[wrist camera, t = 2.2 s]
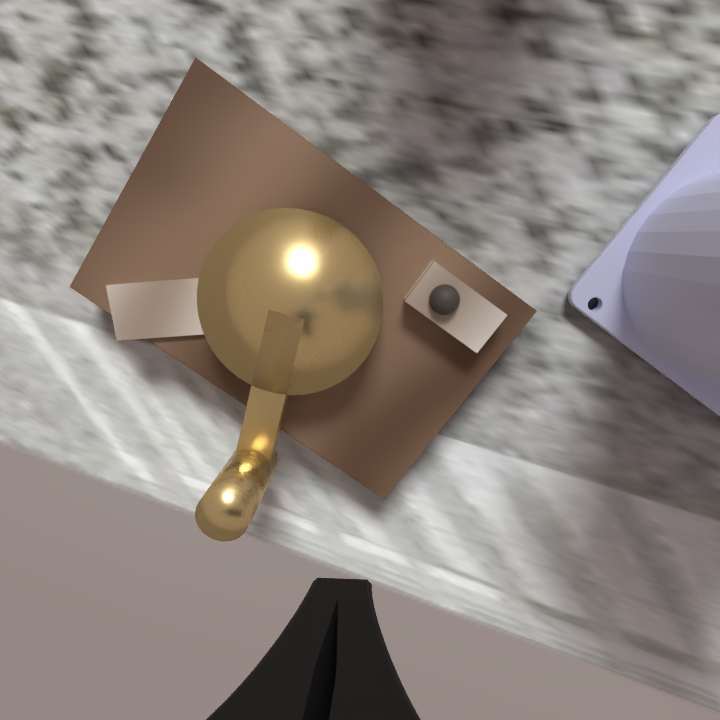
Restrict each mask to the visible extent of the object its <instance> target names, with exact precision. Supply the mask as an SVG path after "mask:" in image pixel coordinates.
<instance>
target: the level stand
mask: <svg viewBox="0 0 720 720" xmlns="http://www.w3.org/2000/svg"><path fill="white" fill-rule="evenodd" d="M276 208H295V209H303V210H307V211H312V212H315V213H319V214H322V215H324V216H327V217H330V218H332V219H334V220H336V221H338V222H339V223H341V224H342V225H344V226H345V227H347V228H348V229H350V230H351V231H352V232H353V233H354V234H355V235H356V236H357V237H358V238H359V239H360V240H361V241H362V242H363V244H364V245H365V246H366V247H367V249H368V251H369V252H370V254H371V255H372V257H373V259H374V261H375V263H376V265H377V268H378V271H379V274H380V277H381V282H382V287H383V312H382V321H381V326H380V330H379V333H378V336H377V339H376V342H375V344H374V346H373V348H372V349H371V351H370V353H369V355H368V356H367V357H366V359H365V360H364V362H363V363H362V364H361V365H360V366H359V367H358V368H357V369H356V371H354V372H353V373H352V374H351V375H350V376H348V377H347V378H346V379H344V380H343V381H341V382H340V383H338V384H336V385H334V386H332V387H330V388H328V389H325V390H322V391H319V392H316V393H310V394H305V395H289V398H288V401H287V405H286V409H285V413H284V417H283V421H282V425H281V430H283V431H284V432H286V433H287V434H289V435H290V436H292V437H293V438H295V439H296V440H298V441H299V442H301V443H302V444H304V445H305V446H307V447H308V448H310V449H311V450H312V451H314V452H315V453H317V454H318V455H320V456H321V457H323V458H324V459H326V460H327V461H329V462H330V463H332V464H333V465H335V466H336V467H338V468H339V469H341V470H342V471H344V472H345V473H347V474H348V475H350V476H351V477H353V478H354V479H355V480H357V481H358V482H360V483H361V484H363V485H364V486H366V487H367V488H369V489H370V490H372V491H373V492H375V493H376V494H378V495H379V496H381V497H382V498H384V499H385V497H386V496H387V495H388V494H389V492H390V491H391V490H392V489H393V487H394V486H395V485H396V484H397V483H398V481H399V480H400V479H401V478H402V476H403V475H404V474H405V473H406V471H407V470H408V469H409V468H410V467H411V465H412V464H413V463H414V462H415V460H416V459H417V458H418V457H419V456H420V454H421V453H422V452H423V451H424V449H425V448H426V447H427V446H428V444H429V443H430V442H431V441H432V440H433V438H434V437H435V436H436V435H437V433H438V432H439V431H440V430H441V428H442V427H443V426H444V425H445V424H446V422H447V421H448V420H449V419H450V417H451V416H452V415H453V414H454V412H455V411H456V410H457V409H458V408H459V406H460V405H461V404H462V403H463V401H464V400H465V399H466V398H467V396H468V395H469V394H470V393H471V392H472V390H473V389H474V388H475V387H476V385H477V384H478V383H479V382H480V380H481V379H482V378H483V377H484V376H485V374H486V373H487V372H488V371H489V369H490V368H491V367H492V366H493V364H494V363H495V362H496V361H497V360H498V358H499V357H500V356H501V355H502V353H503V352H504V351H505V350H506V348H507V347H508V346H509V345H510V344H511V342H512V341H513V340H514V339H515V337H516V336H517V335H518V334H519V333H520V331H521V330H522V329H523V328H524V326H525V325H526V324H527V323H528V321H529V320H530V319H531V318H532V317H533V315H534V314H535V313H536V312H537V311H536V310H535V309H533V308H532V307H531V306H529V305H528V304H527V303H525V302H524V301H523V300H521V299H520V298H518V297H517V296H516V295H514V294H513V293H512V292H510V291H509V290H508V289H506V288H505V287H504V286H502V285H501V284H500V283H498V282H497V281H496V280H494V279H493V278H492V277H490V276H489V275H488V274H486V273H485V272H483V271H482V270H481V269H479V268H478V267H477V266H475V265H474V264H473V263H471V262H470V261H469V260H467V259H466V258H465V257H463V256H462V255H461V254H459V253H458V252H457V251H455V250H454V249H453V248H451V247H450V246H448V245H447V244H446V243H444V242H443V241H442V240H440V239H439V238H438V237H436V236H435V235H434V234H432V233H431V232H430V231H428V230H427V229H426V228H424V227H423V226H422V225H420V224H419V223H418V222H416V221H415V220H413V219H412V218H411V217H409V216H408V215H407V214H405V213H404V212H403V211H401V210H400V209H399V208H397V207H396V206H395V205H393V204H392V203H391V202H389V201H388V200H387V199H385V198H384V197H383V196H381V195H380V194H378V193H377V192H376V191H374V190H373V189H372V188H370V187H369V186H368V185H366V184H365V183H364V182H362V181H361V180H360V179H358V178H357V177H356V176H354V175H353V174H352V173H350V172H349V171H348V170H346V169H345V168H343V167H342V166H341V165H339V164H338V163H337V162H335V161H334V160H333V159H331V158H330V157H329V156H327V155H326V154H325V153H323V152H322V151H321V150H319V149H318V148H317V147H315V146H314V145H313V144H311V143H310V142H308V141H307V140H306V139H304V138H303V137H302V136H300V135H299V134H298V133H296V132H295V131H294V130H292V129H291V128H290V127H288V126H287V125H286V124H284V123H283V122H282V121H280V120H279V119H278V118H276V117H275V116H273V115H272V114H271V113H269V112H268V111H267V110H265V109H264V108H263V107H261V106H260V105H259V104H257V103H256V102H255V101H253V100H252V99H251V98H249V97H248V96H247V95H245V94H244V93H243V92H241V91H240V90H239V89H237V88H236V87H234V86H233V85H232V84H230V83H229V82H228V81H226V80H225V79H224V78H222V77H221V76H220V75H218V74H217V73H216V72H214V71H213V70H212V69H210V68H209V67H208V66H206V65H205V64H204V63H202V62H201V61H199V60H198V59H197V58H195V60H194V61H193V63H192V65H191V67H190V69H189V71H188V72H187V74H186V76H185V78H184V80H183V81H182V83H181V85H180V87H179V89H178V91H177V92H176V94H175V96H174V98H173V100H172V102H171V103H170V105H169V107H168V109H167V111H166V112H165V114H164V116H163V118H162V120H161V122H160V123H159V125H158V127H157V129H156V131H155V132H154V134H153V136H152V138H151V140H150V142H149V143H148V145H147V147H146V149H145V151H144V152H143V154H142V156H141V158H140V160H139V162H138V163H137V165H136V167H135V169H134V171H133V173H132V174H131V176H130V178H129V180H128V182H127V183H126V185H125V187H124V189H123V191H122V193H121V194H120V196H119V198H118V200H117V202H116V203H115V205H114V207H113V209H112V211H111V213H110V214H109V216H108V218H107V220H106V222H105V223H104V225H103V227H102V229H101V231H100V233H99V234H98V236H97V238H96V240H95V242H94V243H93V245H92V247H91V249H90V251H89V253H88V254H87V256H86V258H85V260H84V262H83V264H82V265H81V267H80V269H79V271H78V273H77V274H76V276H75V278H74V280H73V282H72V284H71V285H70V287H71V288H72V289H74V290H75V291H77V292H78V293H80V294H81V295H83V296H84V297H86V298H87V299H89V300H90V301H92V302H93V303H95V304H96V305H98V306H99V307H100V308H102V309H103V310H105V311H106V312H108V313H109V314H111V315H112V320H113V325H114V330H115V335H116V340H117V341H119V340H133V339H148V340H149V341H151V342H152V343H154V344H155V345H157V346H158V347H160V348H161V349H163V350H164V351H166V352H167V353H169V354H170V355H172V356H173V357H175V358H176V359H178V360H179V361H181V362H182V363H184V364H185V365H186V366H188V367H189V368H191V369H192V370H194V371H195V372H197V373H198V374H200V375H201V376H203V377H204V378H206V379H207V380H209V381H210V382H212V383H213V384H215V385H216V386H218V387H219V388H221V389H222V390H224V391H225V392H226V393H228V394H229V395H231V396H232V397H234V398H235V399H237V400H238V401H240V402H241V403H243V404H244V405H246V406H247V402H248V398H249V394H250V389H251V385H250V384H248V383H246V382H245V381H243V380H242V379H240V378H239V377H237V376H236V375H235V374H233V373H232V372H231V371H230V370H229V369H227V368H226V367H225V365H224V364H223V363H222V362H221V361H220V360H219V359H218V357H217V356H216V355H215V353H214V352H213V351H212V349H211V347H210V345H209V344H208V342H207V340H206V338H205V335H204V333H203V330H202V328H201V324H200V320H199V317H198V309H197V286H198V279H199V276H200V272H201V268H202V266H203V263H204V261H205V258H206V256H207V255H208V253H209V251H210V249H211V248H212V246H213V245H214V244H215V242H216V241H217V240H218V239H219V237H220V236H221V235H222V234H223V233H224V232H225V231H226V230H227V229H229V228H230V227H231V226H233V225H234V224H235V223H237V222H238V221H240V220H242V219H244V218H246V217H248V216H249V215H252V214H255V213H258V212H261V211H265V210H270V209H276Z"/></svg>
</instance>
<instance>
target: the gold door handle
mask: <svg viewBox="0 0 720 720" xmlns="http://www.w3.org/2000/svg"><path fill="white" fill-rule="evenodd" d="M197 309H198V317H199V320H200V324H201V328H202V330H203V333H204V335H205V338H206V340H207V342H208V344H209V345H210V347H211V349H212V351H213V352H214V353H215V355H216V356H217V357H218V359H219V360H220V361H221V362H222V363H223V364H224V365H225V367H226V368H227V369H229V370H230V371H231V372H232V373H233V374H235V375H236V376H237V377H239V378H240V379H242V380H243V381H245V382H246V383H248V384H250V385H251V389H250V394H249V398H248V402H247V407H246V411H245V415H244V420H243V424H242V428H241V433H240V437H239V441H238V446H237V449H236V451H235V452H234V453H233V455H232V456H231V458H230V459H229V460H228V462H227V463H226V465H225V466H224V467H223V469H222V470H221V472H220V473H219V475H218V476H217V477H216V479H215V480H214V482H213V483H212V484H211V486H210V487H209V489H208V490H207V491H206V493H205V494H204V496H203V497H202V498H201V500H200V501H199V503H198V505H197V507H196V511H195V518H196V522H197V524H198V526H199V528H200V529H201V531H202V532H203V533H205V534H206V535H207V536H209V537H210V538H212V539H215V540H219V541H231V540H235V539H237V538H239V537H240V536H242V535H243V534H244V533H245V531H246V530H247V528H248V526H249V523H250V521H251V519H252V517H253V515H254V513H255V511H256V509H257V507H258V505H259V503H260V501H261V499H262V497H263V494H264V492H265V490H266V488H267V486H268V484H269V482H270V480H271V478H272V476H273V474H274V472H275V470H276V468H277V465H278V455H277V452H276V450H275V449H276V445H277V441H278V437H279V433H280V429H281V425H282V421H283V417H284V413H285V409H286V405H287V401H288V398H289V395H305V394H310V393H316V392H319V391H322V390H325V389H328V388H330V387H332V386H334V385H336V384H338V383H340V382H341V381H343V380H344V379H346V378H347V377H348V376H350V375H351V374H352V373H353V372H354V371H356V369H357V368H358V367H359V366H360V365H361V364H362V363H363V362H364V360H365V359H366V357H367V356H368V355H369V353H370V351H371V349H372V348H373V346H374V344H375V342H376V339H377V336H378V333H379V330H380V326H381V321H382V312H383V287H382V282H381V277H380V274H379V271H378V268H377V265H376V263H375V261H374V259H373V257H372V255H371V254H370V252H369V251H368V249H367V247H366V246H365V245H364V244H363V242H362V241H361V240H360V239H359V238H358V237H357V236H356V235H355V234H354V233H353V232H352V231H351V230H350V229H348V228H347V227H345V226H344V225H342V224H341V223H339V222H338V221H336V220H334V219H332V218H330V217H327V216H324V215H322V214H319V213H315V212H312V211H307V210H303V209H295V208H276V209H270V210H265V211H261V212H258V213H255V214H252V215H249V216H248V217H246V218H244V219H242V220H240V221H238V222H237V223H235V224H234V225H233V226H231V227H230V228H229V229H227V230H226V231H225V232H224V233H223V234H222V235H221V236H220V237H219V239H218V240H217V241H216V242H215V244H214V245H213V246H212V248H211V249H210V251H209V253H208V255H207V256H206V258H205V261H204V263H203V266H202V268H201V272H200V276H199V279H198V286H197Z"/></svg>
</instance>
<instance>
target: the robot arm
mask: <svg viewBox="0 0 720 720" xmlns="http://www.w3.org/2000/svg"><path fill="white" fill-rule="evenodd" d="M594 297H596V298H597V299H598V305H597V307H596V308H595V309H593V310H590V309H589V308H588V302H589V300H590V299H592V298H594ZM568 300H569V303H570V304H571V305H572V306H573V307H574V308H575V309H577V310H578V311H579V312H581V313H582V314H583V315H585V316H586V317H587V318H589V319H590V320H591V321H593V322H594V323H595V324H597V325H598V326H599V327H601V328H602V329H603V330H605V331H606V332H607V333H609V334H610V335H611V336H613V337H614V338H615V339H617V340H618V341H619V342H621V343H622V344H623V345H625V346H626V347H627V348H629V349H630V350H631V351H633V352H634V353H635V354H637V355H638V356H639V357H641V358H642V359H643V360H645V361H646V362H647V363H649V364H650V365H651V366H653V367H654V368H655V369H657V370H658V371H659V372H661V373H662V374H663V375H665V376H666V377H667V378H669V379H670V380H671V381H673V382H674V383H675V384H677V385H678V386H679V387H681V388H682V389H683V390H685V391H686V392H687V393H689V394H690V395H691V396H693V397H694V398H695V399H697V400H698V401H699V402H701V403H702V404H703V405H705V406H706V407H707V408H709V409H710V410H711V411H713V412H714V413H715V414H717V415H718V416H719V417H720V114H719V115H716V116H714V117H712V118H711V119H710V120H708V121H707V122H706V124H705V125H704V126H703V127H702V129H701V130H700V131H699V132H698V133H697V135H696V136H695V137H694V138H693V139H692V141H691V142H690V143H689V144H688V146H687V147H686V148H685V149H684V150H683V152H682V153H681V154H680V155H679V157H678V158H677V159H676V160H675V161H674V163H673V164H672V165H671V166H670V167H669V169H668V170H667V171H666V172H665V174H664V175H663V176H662V177H661V178H660V180H659V181H658V182H657V183H656V185H655V186H654V187H653V188H652V189H651V191H650V192H649V193H648V194H647V196H646V197H645V198H644V199H643V200H642V202H641V203H640V204H639V205H638V206H637V208H636V209H635V210H634V211H633V213H632V214H631V215H630V216H629V217H628V219H627V220H626V221H625V222H624V224H623V225H622V226H621V227H620V228H619V230H618V231H617V232H616V233H615V234H614V236H613V237H612V238H611V239H610V241H609V242H608V243H607V244H606V245H605V247H604V248H603V249H602V250H601V252H600V253H599V254H598V255H597V256H596V258H595V259H594V260H593V261H592V262H591V264H590V265H589V266H588V267H587V269H586V270H585V271H584V272H583V273H582V275H581V276H580V277H579V278H578V280H577V281H576V282H575V283H574V284H573V286H572V287H571V288H570V290H569V292H568ZM371 588H372V584H371V583H370V582H369V581H368V580H361V579H335V578H317V579H316V580H315V581H313V583H312V585H311V587H310V589H309V591H308V593H307V594H306V596H305V598H304V600H303V601H302V603H301V605H300V606H299V608H298V610H297V611H296V613H295V614H294V616H293V617H292V619H291V620H290V622H289V623H288V625H287V626H286V628H285V629H284V631H283V632H282V634H281V635H280V636H279V638H278V639H277V640H276V642H275V643H274V644H273V646H272V647H271V648H270V650H269V651H268V652H267V653H266V655H265V656H264V657H263V659H262V660H261V661H260V662H259V664H258V665H257V666H256V667H255V669H254V670H253V671H252V672H251V673H250V675H249V676H248V677H247V678H246V679H245V680H244V682H243V683H242V684H241V685H240V686H239V687H238V688H237V689H236V690H235V691H234V692H233V693H232V694H231V696H230V697H229V698H228V699H227V700H226V701H225V702H224V703H223V704H222V705H221V706H220V707H219V708H218V709H217V710H216V711H215V712H214V713H213V714H212V715H210V717H208V718H207V719H206V720H420V718H419V716H418V715H417V713H416V711H415V709H414V707H413V706H412V704H411V701H410V699H409V698H408V696H407V694H406V691H405V689H404V687H403V685H402V683H401V681H400V679H399V677H398V674H397V672H396V670H395V667H394V665H393V663H392V660H391V658H390V655H389V653H388V650H387V647H386V644H385V642H384V639H383V636H382V633H381V630H380V627H379V624H378V620H377V616H376V612H375V608H374V604H373V599H372V589H371Z"/></svg>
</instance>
